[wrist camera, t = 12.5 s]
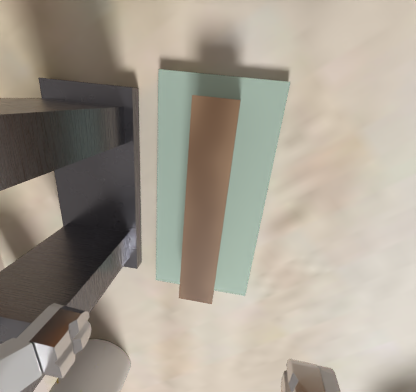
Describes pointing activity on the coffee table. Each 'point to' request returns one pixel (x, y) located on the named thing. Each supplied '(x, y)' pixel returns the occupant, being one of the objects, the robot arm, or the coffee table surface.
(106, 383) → the white cylinder
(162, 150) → the mat
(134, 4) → the coffee table surface
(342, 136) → the coffee table surface
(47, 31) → the coffee table surface
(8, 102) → the hook stand
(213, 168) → the rail
